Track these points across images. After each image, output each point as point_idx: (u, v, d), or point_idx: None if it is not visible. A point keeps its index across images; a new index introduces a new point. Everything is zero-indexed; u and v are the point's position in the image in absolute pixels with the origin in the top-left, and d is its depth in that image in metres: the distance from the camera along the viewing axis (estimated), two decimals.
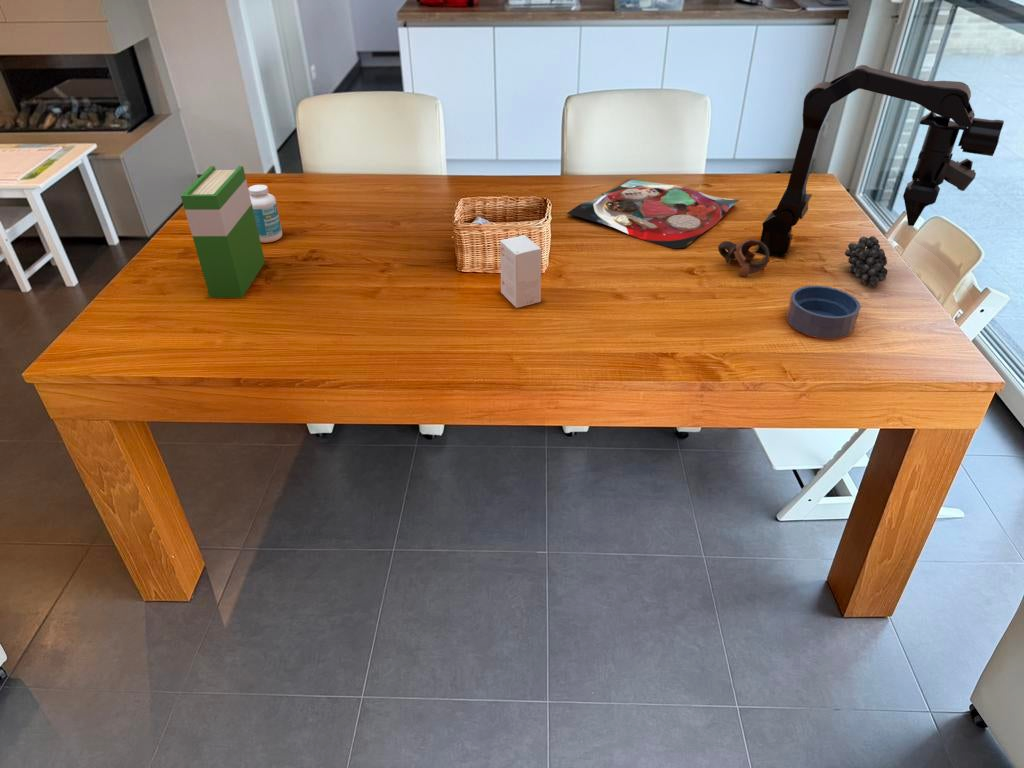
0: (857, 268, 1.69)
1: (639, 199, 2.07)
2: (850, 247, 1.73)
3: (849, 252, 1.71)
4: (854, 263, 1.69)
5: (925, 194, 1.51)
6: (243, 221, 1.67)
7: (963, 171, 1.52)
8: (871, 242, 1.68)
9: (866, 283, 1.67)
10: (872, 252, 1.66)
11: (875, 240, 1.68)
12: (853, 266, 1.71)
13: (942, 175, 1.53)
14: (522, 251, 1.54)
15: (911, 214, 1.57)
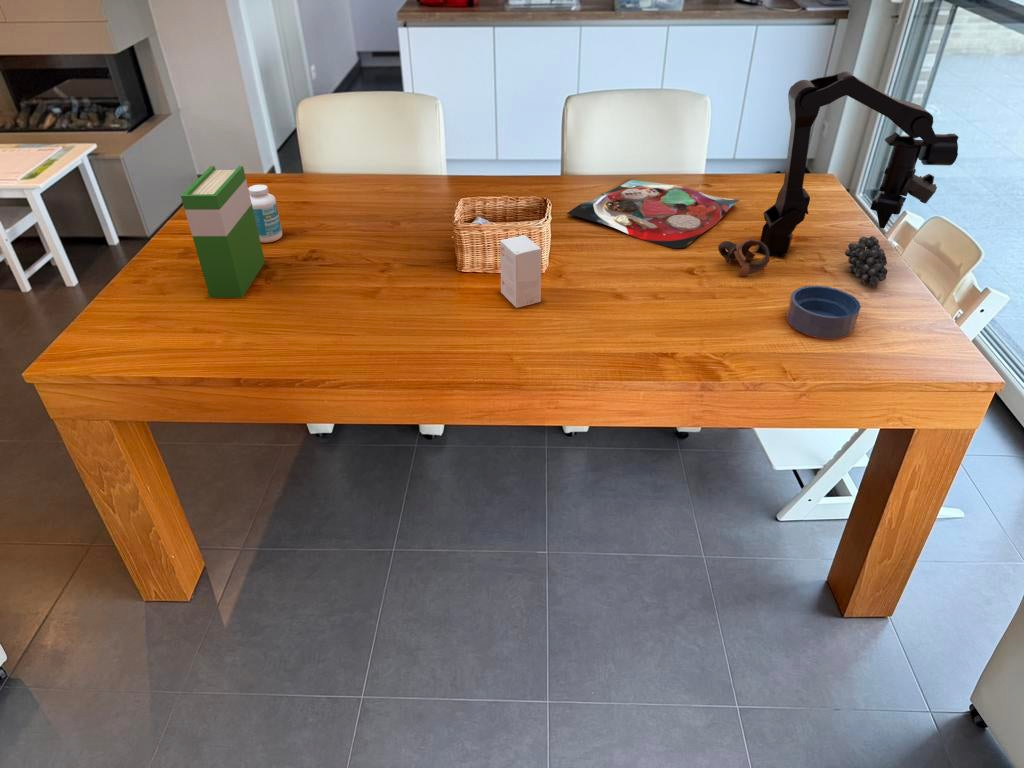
0: (857, 268, 1.69)
1: (639, 199, 2.07)
2: (850, 247, 1.73)
3: (849, 252, 1.71)
4: (854, 263, 1.69)
5: (890, 207, 1.65)
6: (243, 221, 1.67)
7: (925, 185, 1.67)
8: (871, 242, 1.68)
9: (866, 283, 1.67)
10: (872, 252, 1.66)
11: (875, 240, 1.68)
12: (853, 266, 1.71)
13: (906, 189, 1.68)
14: (523, 251, 1.54)
15: (882, 218, 1.75)
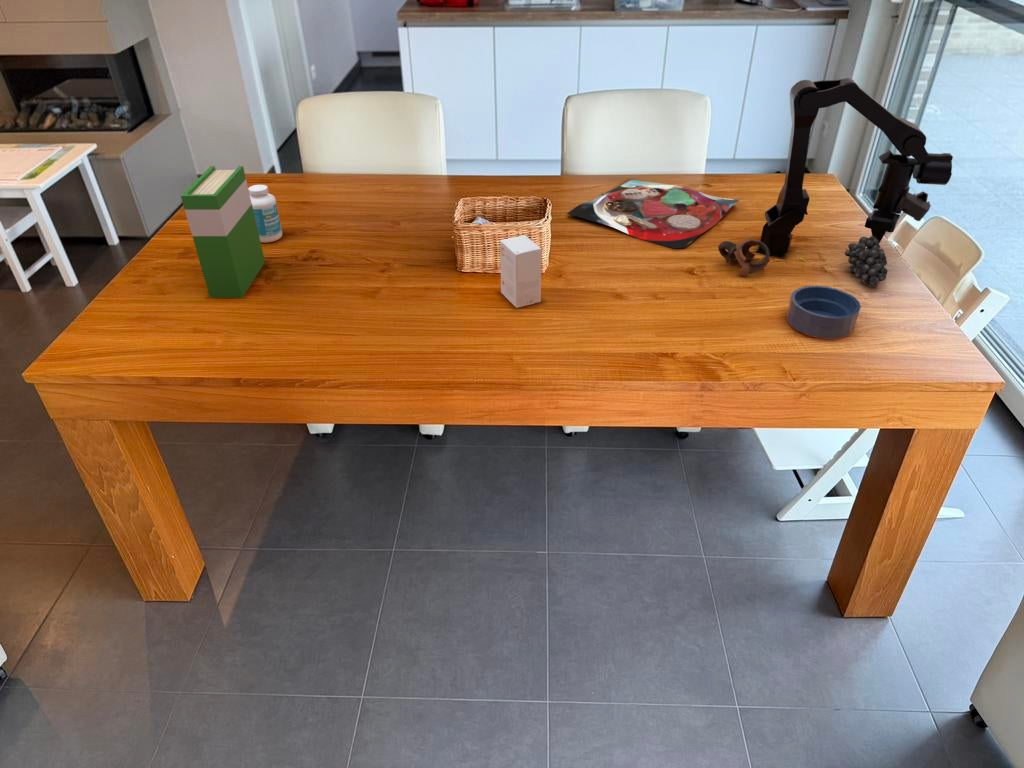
0: (857, 268, 1.69)
1: (639, 199, 2.07)
2: (850, 247, 1.73)
3: (849, 252, 1.71)
4: (854, 263, 1.69)
5: (884, 225, 1.66)
6: (243, 221, 1.67)
7: (919, 203, 1.67)
8: (871, 242, 1.68)
9: (866, 283, 1.67)
10: (872, 252, 1.66)
11: (875, 240, 1.68)
12: (853, 266, 1.71)
13: (900, 207, 1.68)
14: (523, 251, 1.54)
15: (876, 235, 1.76)
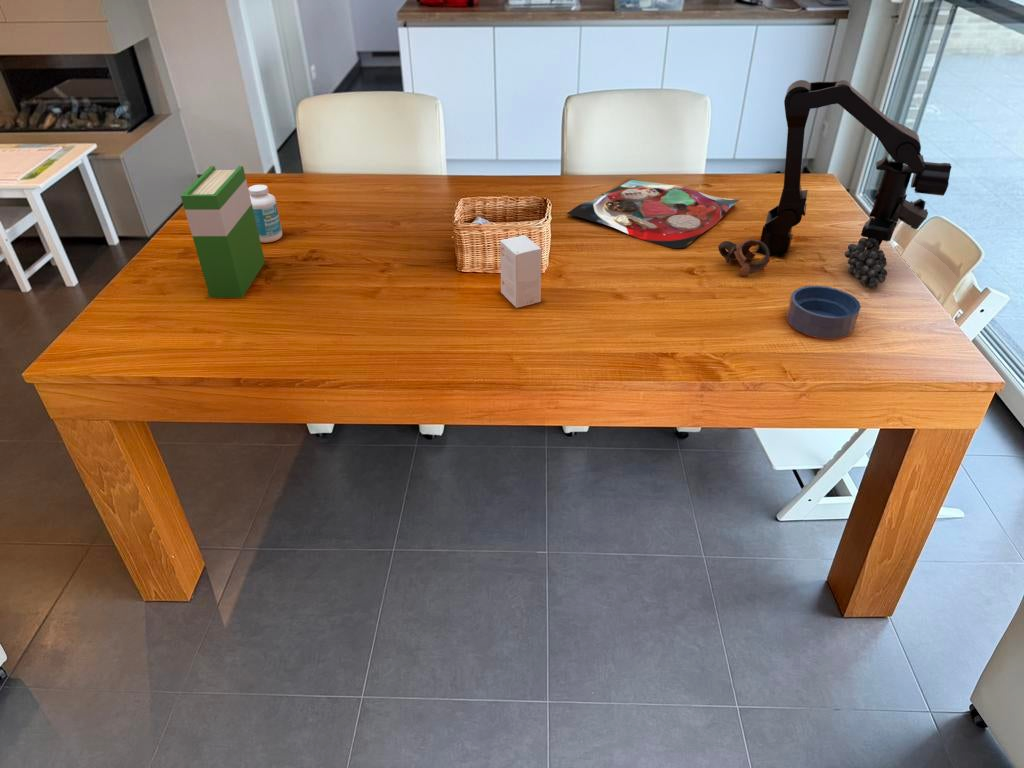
0: (857, 269, 1.69)
1: (639, 199, 2.07)
2: (850, 248, 1.72)
3: (849, 253, 1.71)
4: (854, 264, 1.69)
5: (880, 234, 1.63)
6: (243, 221, 1.67)
7: (916, 211, 1.64)
8: (871, 243, 1.67)
9: (866, 284, 1.67)
10: (872, 253, 1.66)
11: (875, 241, 1.68)
12: (853, 267, 1.70)
13: (897, 215, 1.65)
14: (523, 251, 1.54)
15: None
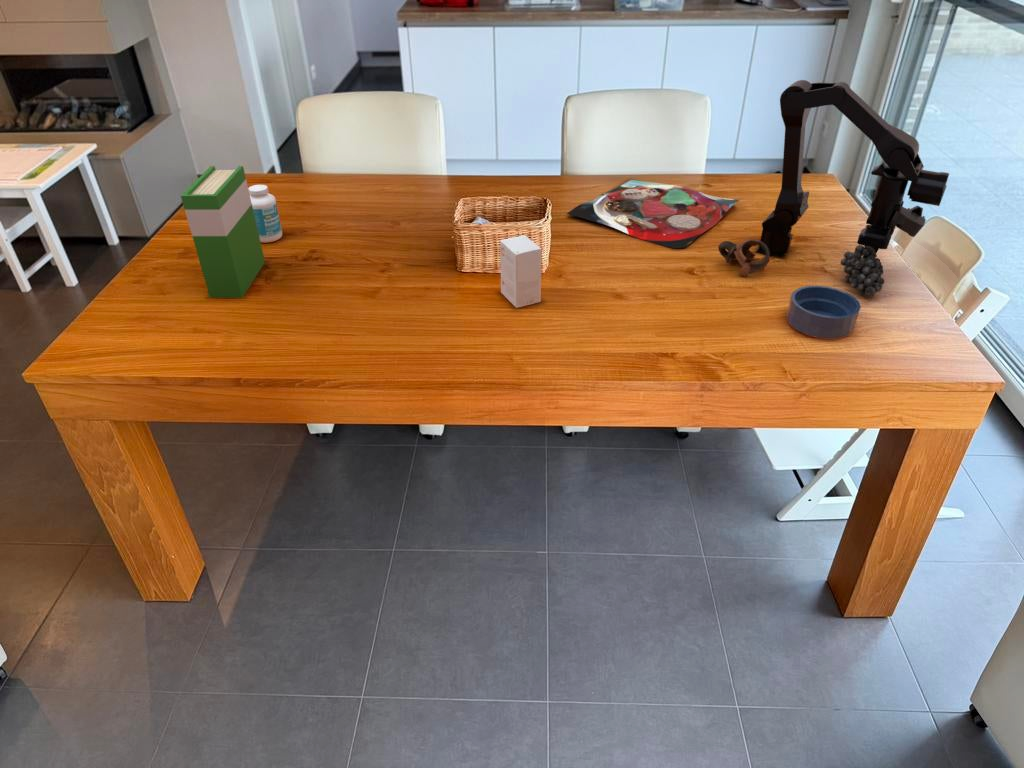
0: (853, 278, 1.65)
1: (639, 199, 2.07)
2: (846, 256, 1.69)
3: (845, 261, 1.68)
4: (850, 272, 1.65)
5: (877, 241, 1.60)
6: (243, 221, 1.67)
7: (913, 218, 1.61)
8: (867, 251, 1.64)
9: (862, 293, 1.64)
10: (868, 261, 1.62)
11: (872, 249, 1.64)
12: (849, 275, 1.67)
13: (893, 222, 1.62)
14: (523, 251, 1.54)
15: None
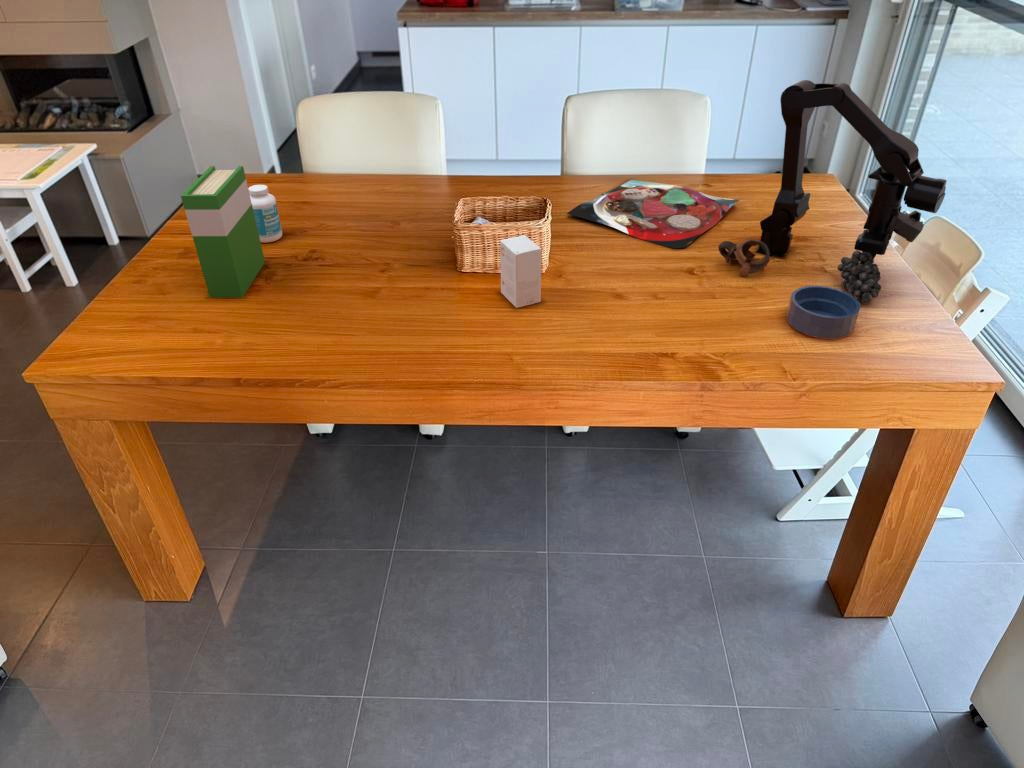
0: (850, 283, 1.63)
1: (639, 199, 2.07)
2: (843, 261, 1.67)
3: (842, 267, 1.65)
4: (847, 278, 1.63)
5: (874, 247, 1.57)
6: (243, 221, 1.67)
7: (911, 224, 1.59)
8: (864, 257, 1.62)
9: (859, 299, 1.61)
10: (865, 267, 1.60)
11: (869, 254, 1.62)
12: (846, 281, 1.65)
13: (891, 227, 1.60)
14: (523, 251, 1.54)
15: None
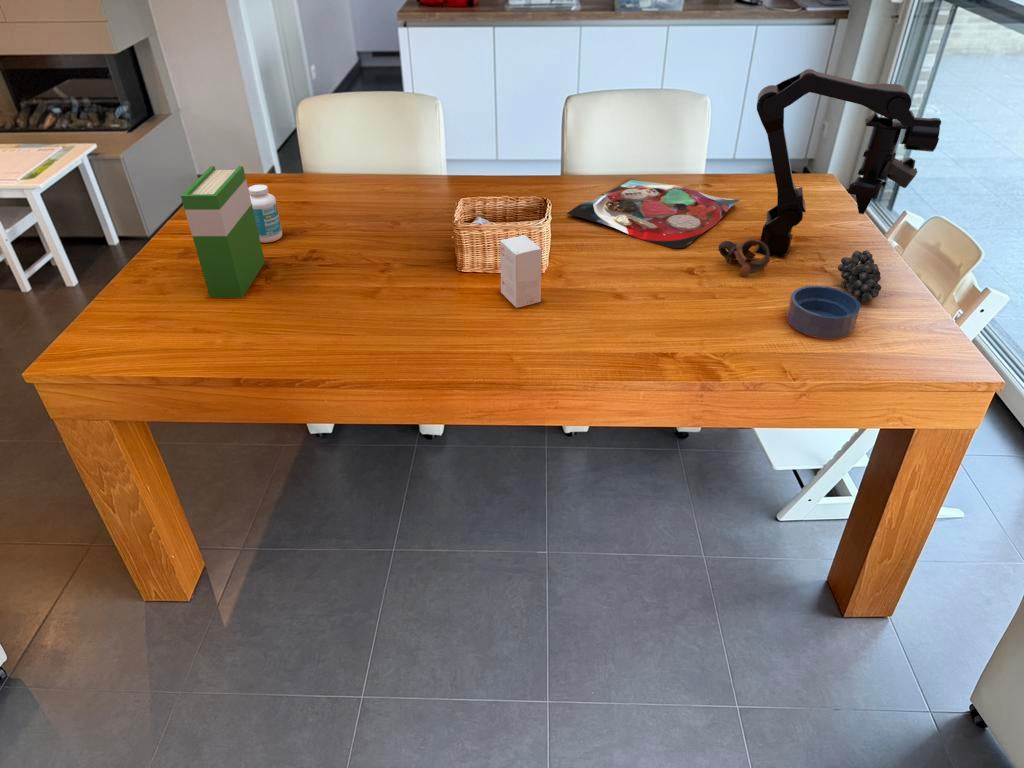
0: (850, 283, 1.63)
1: (639, 199, 2.07)
2: (843, 261, 1.67)
3: (842, 267, 1.65)
4: (847, 278, 1.63)
5: (867, 190, 1.60)
6: (243, 221, 1.67)
7: (905, 169, 1.61)
8: (864, 257, 1.62)
9: (859, 299, 1.61)
10: (865, 267, 1.60)
11: (869, 254, 1.62)
12: (846, 281, 1.65)
13: (885, 173, 1.62)
14: (523, 251, 1.54)
15: (861, 203, 1.70)
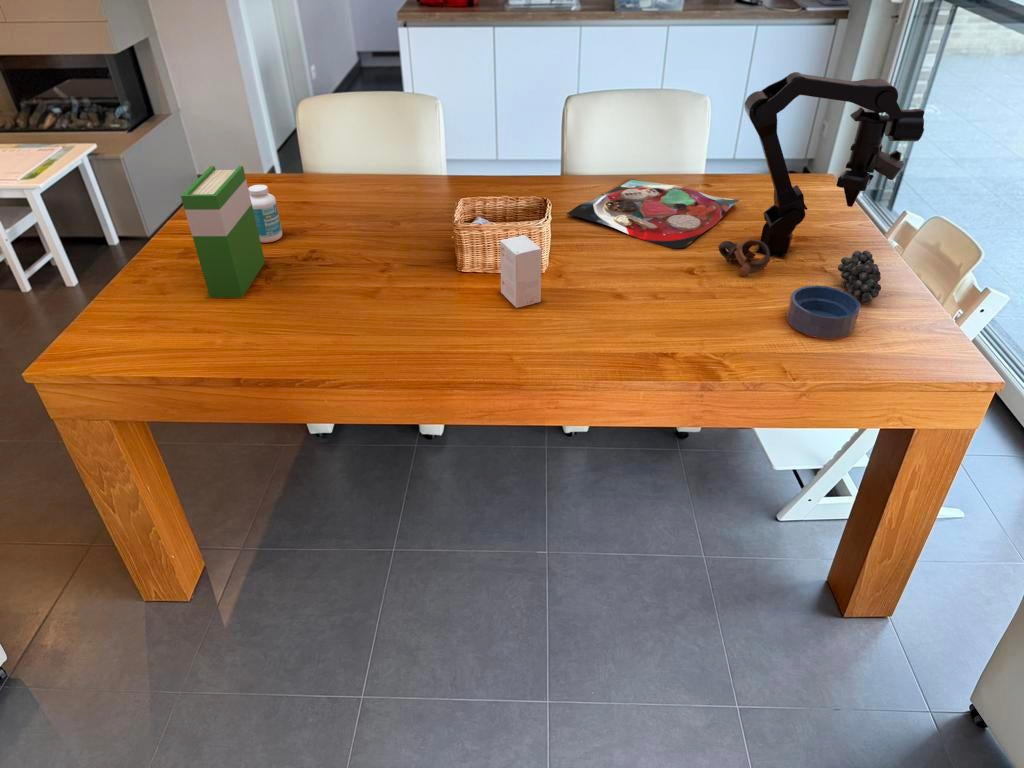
0: (850, 283, 1.63)
1: (639, 199, 2.07)
2: (843, 261, 1.67)
3: (842, 267, 1.65)
4: (847, 278, 1.63)
5: (855, 183, 1.63)
6: (243, 221, 1.67)
7: (891, 162, 1.64)
8: (864, 257, 1.62)
9: (859, 299, 1.61)
10: (865, 267, 1.60)
11: (869, 254, 1.62)
12: (846, 281, 1.65)
13: (872, 165, 1.65)
14: (523, 251, 1.54)
15: (849, 196, 1.73)
